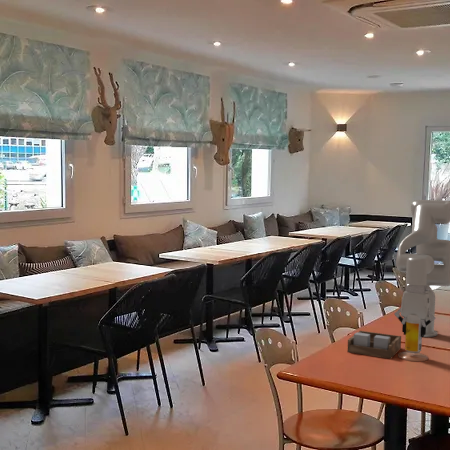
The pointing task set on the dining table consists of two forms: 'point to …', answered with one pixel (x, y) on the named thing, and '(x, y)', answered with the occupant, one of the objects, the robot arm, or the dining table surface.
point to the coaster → (413, 356)
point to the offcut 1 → (362, 339)
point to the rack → (392, 348)
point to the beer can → (413, 334)
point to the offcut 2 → (381, 342)
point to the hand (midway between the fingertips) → (413, 334)
